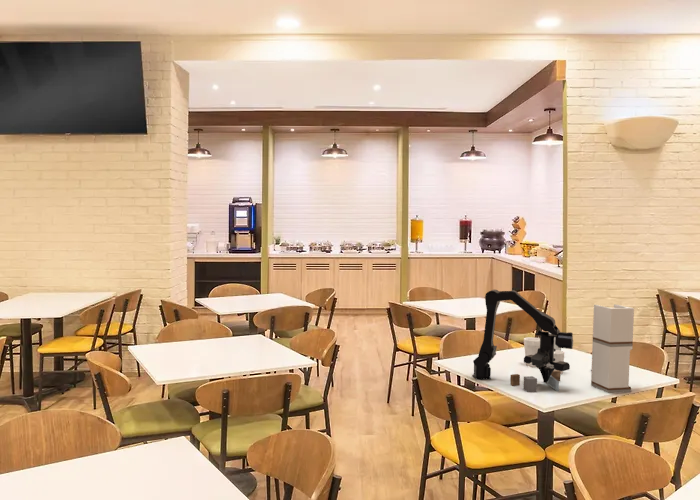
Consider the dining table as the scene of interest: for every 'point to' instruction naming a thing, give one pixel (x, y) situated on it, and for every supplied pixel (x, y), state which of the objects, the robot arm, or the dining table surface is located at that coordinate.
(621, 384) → the striped white pillar
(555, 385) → the door
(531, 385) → the block
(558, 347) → the robot arm
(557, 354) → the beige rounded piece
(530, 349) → the foam cup
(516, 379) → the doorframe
